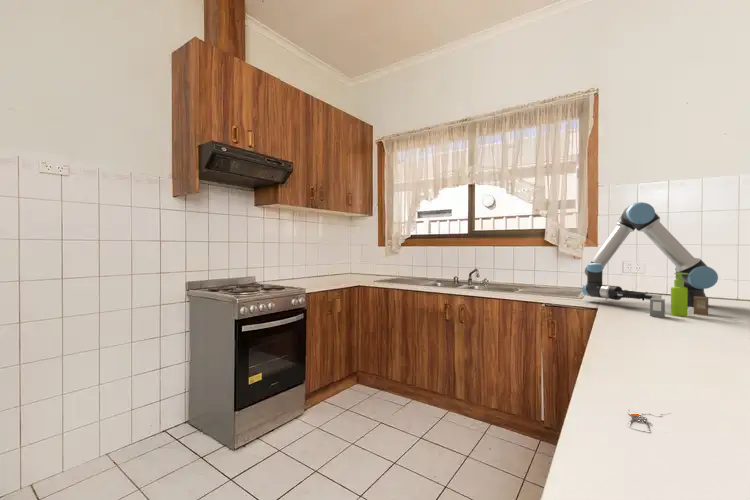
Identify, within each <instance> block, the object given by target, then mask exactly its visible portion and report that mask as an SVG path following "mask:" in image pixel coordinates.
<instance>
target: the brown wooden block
mask: <svg viewBox="0 0 750 500" xmlns="http://www.w3.org/2000/svg"><path fill="white" fill-rule="evenodd" d="M693 314H694V315H699V316H709V297H708V296H706V297H697V296H694V306H693Z"/></svg>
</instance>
